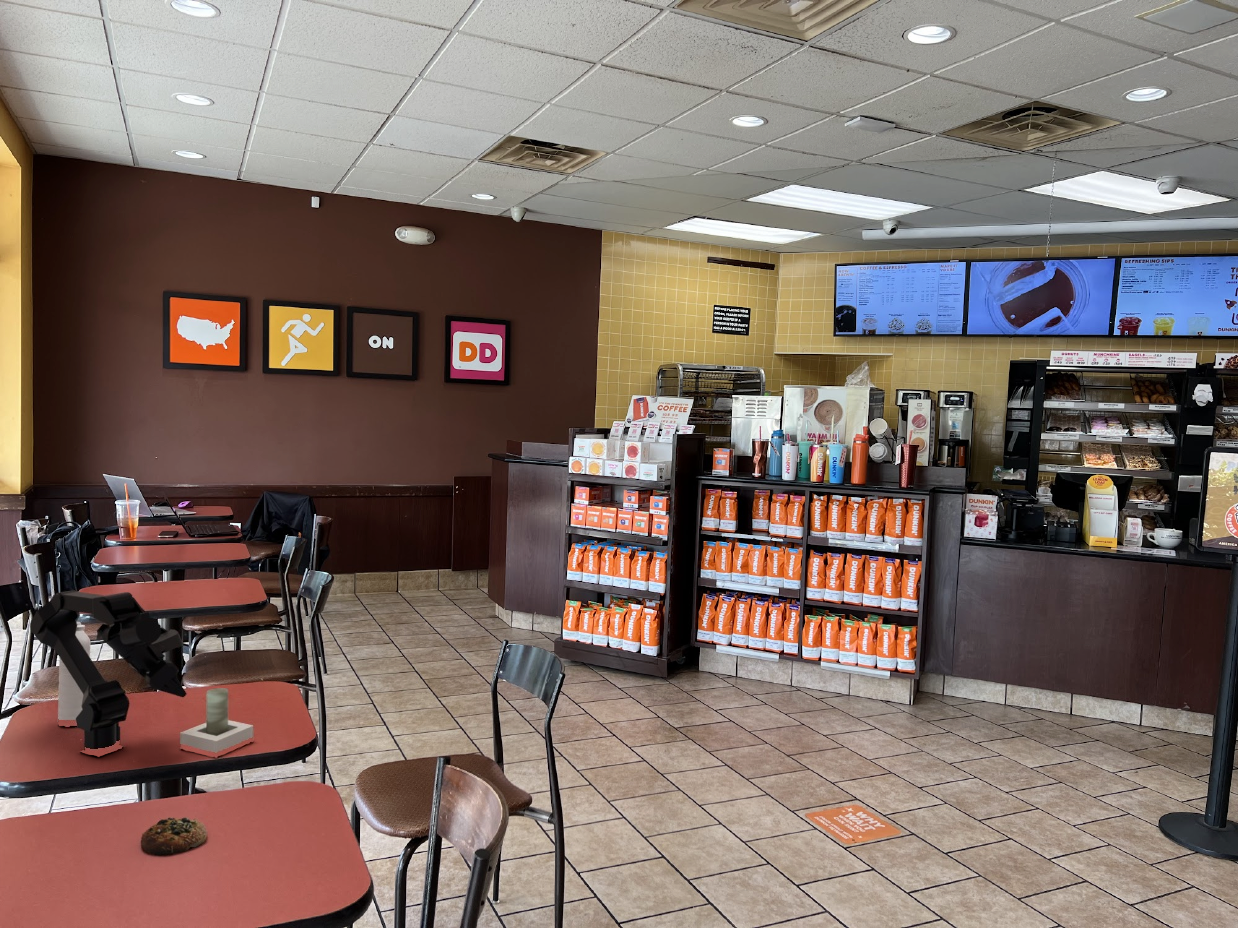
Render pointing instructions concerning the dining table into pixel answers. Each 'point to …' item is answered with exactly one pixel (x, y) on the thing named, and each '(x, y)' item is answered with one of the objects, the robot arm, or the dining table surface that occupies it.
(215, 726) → the green peg
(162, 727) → the dining table surface
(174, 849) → the bread roll
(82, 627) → the water bottle
